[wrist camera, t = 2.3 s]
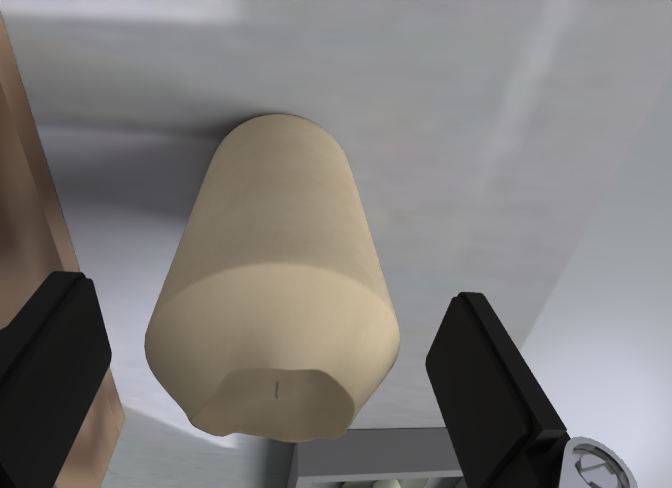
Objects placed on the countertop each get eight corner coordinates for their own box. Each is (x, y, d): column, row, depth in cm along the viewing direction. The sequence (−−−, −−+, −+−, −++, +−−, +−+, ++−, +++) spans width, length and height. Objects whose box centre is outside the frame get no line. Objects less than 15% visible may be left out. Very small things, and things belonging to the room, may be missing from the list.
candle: (206, 226, 16) (127, 486, 8) (216, 95, 13) (104, 306, 5) (331, 244, 17) (368, 485, 9) (367, 129, 14) (468, 341, 6)
